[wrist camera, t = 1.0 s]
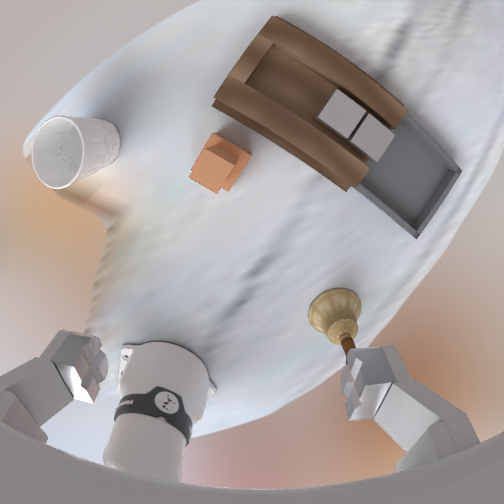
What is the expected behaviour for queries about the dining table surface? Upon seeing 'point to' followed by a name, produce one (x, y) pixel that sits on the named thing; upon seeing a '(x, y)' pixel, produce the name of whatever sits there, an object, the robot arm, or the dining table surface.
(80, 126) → the white cup
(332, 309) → the hand bell
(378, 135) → the grey square block
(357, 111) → the light grey block
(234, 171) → the stepped wedge block
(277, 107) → the slot board
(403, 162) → the tray
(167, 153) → the dining table surface
